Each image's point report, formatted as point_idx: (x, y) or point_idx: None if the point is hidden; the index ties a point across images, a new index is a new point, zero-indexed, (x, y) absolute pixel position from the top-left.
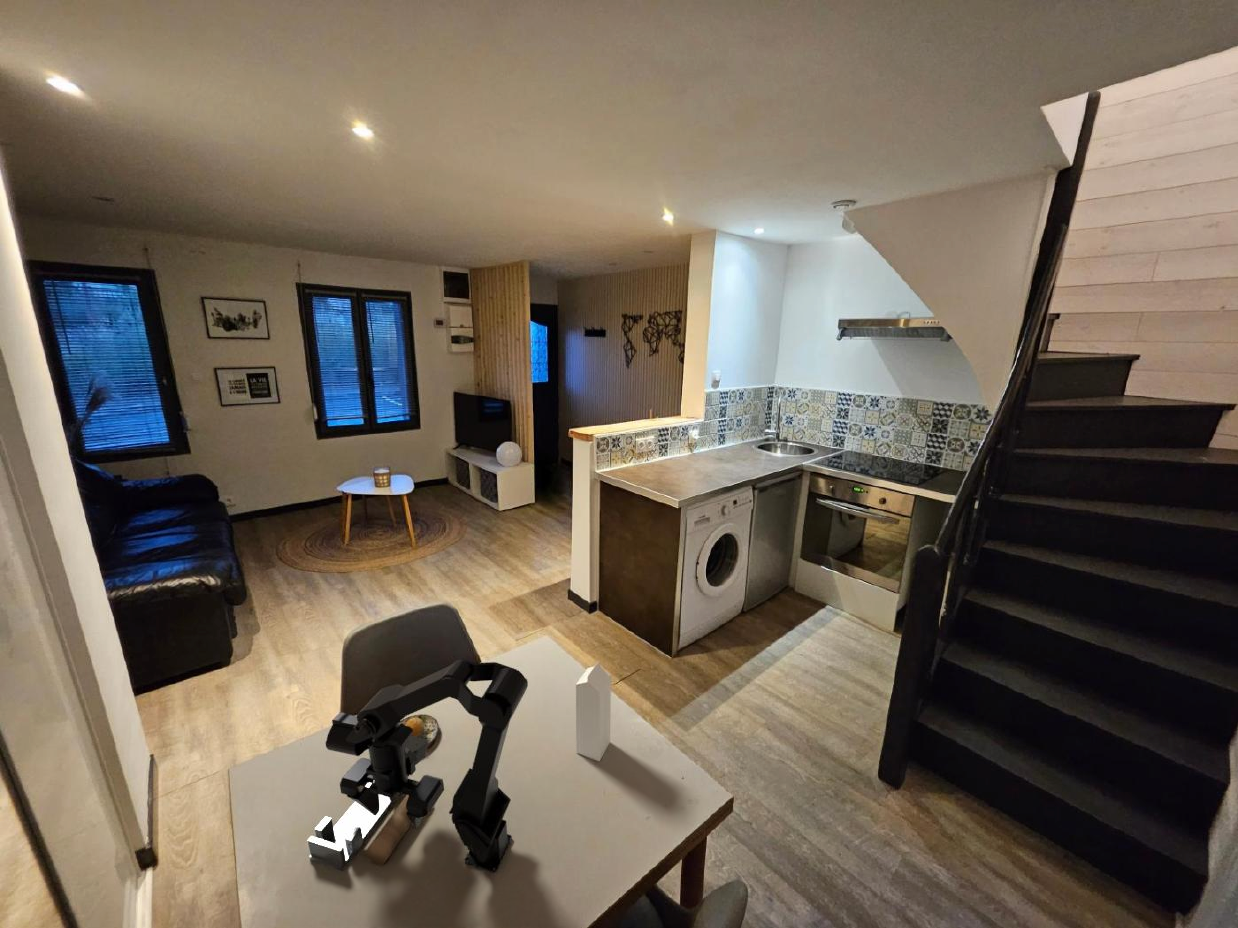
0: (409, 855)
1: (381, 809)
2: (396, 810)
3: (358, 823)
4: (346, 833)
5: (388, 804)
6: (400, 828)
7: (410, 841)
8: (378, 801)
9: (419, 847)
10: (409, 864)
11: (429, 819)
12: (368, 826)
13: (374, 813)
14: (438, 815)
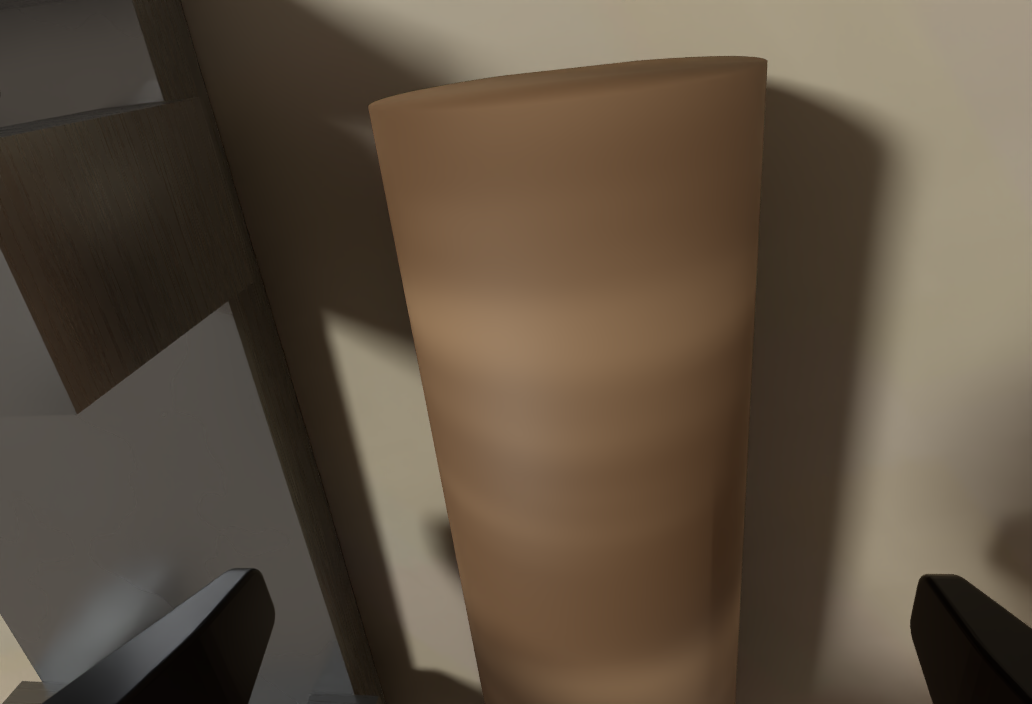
0: (877, 637)
1: (231, 431)
2: (499, 596)
3: (175, 595)
4: None
5: (245, 360)
6: (724, 701)
7: (802, 544)
8: (161, 685)
9: (945, 567)
10: (926, 688)
11: (892, 290)
12: (289, 595)
13: (256, 672)
14: (1008, 199)
